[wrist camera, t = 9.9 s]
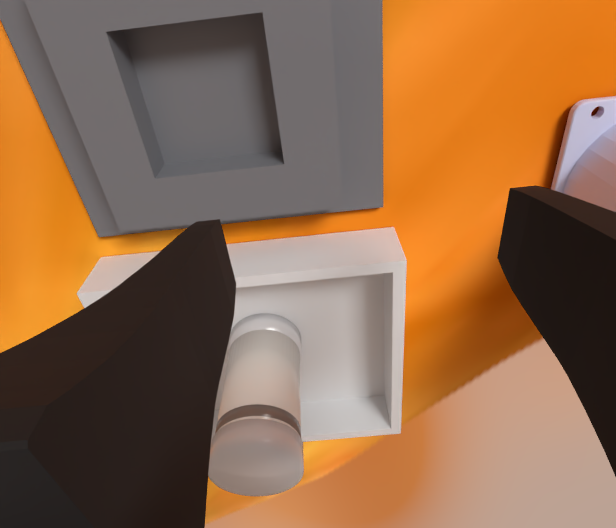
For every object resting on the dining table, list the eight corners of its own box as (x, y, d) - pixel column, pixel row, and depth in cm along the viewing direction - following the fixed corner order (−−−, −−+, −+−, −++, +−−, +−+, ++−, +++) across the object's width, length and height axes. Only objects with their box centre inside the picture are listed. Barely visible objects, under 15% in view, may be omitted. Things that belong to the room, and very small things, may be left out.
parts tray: (393, 227, 22) (406, 260, 19) (391, 394, 29) (400, 433, 27) (101, 257, 22) (76, 293, 20) (173, 413, 30) (162, 453, 27)
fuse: (296, 310, 24) (297, 440, 17) (304, 361, 26) (308, 492, 20) (223, 316, 24) (196, 448, 17) (237, 367, 26) (218, 499, 20)
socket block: (379, -126, 14) (391, -138, 12) (381, 203, 21) (389, 223, 19) (-33, -70, 14) (-75, -75, 13) (101, 233, 21) (85, 255, 20)
